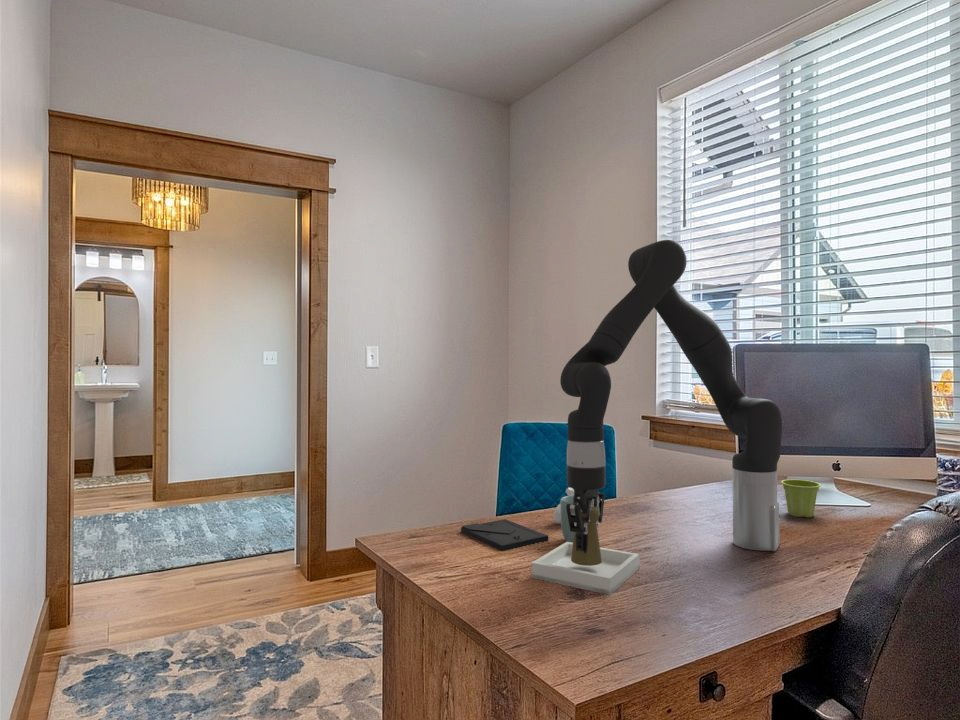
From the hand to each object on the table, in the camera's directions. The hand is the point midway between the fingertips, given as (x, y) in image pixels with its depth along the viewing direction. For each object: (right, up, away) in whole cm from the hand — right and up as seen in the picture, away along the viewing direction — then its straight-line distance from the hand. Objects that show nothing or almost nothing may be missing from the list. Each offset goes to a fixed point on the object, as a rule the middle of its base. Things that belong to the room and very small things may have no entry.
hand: (586, 549), depth 119 cm
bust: (+3, -5, +37) cm, 38 cm away
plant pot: (+65, -5, +43) cm, 78 cm away
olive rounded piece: (0, -2, 0) cm, 2 cm away
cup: (+1, -5, +21) cm, 21 cm away
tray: (0, -5, 0) cm, 5 cm away
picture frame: (-15, -6, +26) cm, 30 cm away
